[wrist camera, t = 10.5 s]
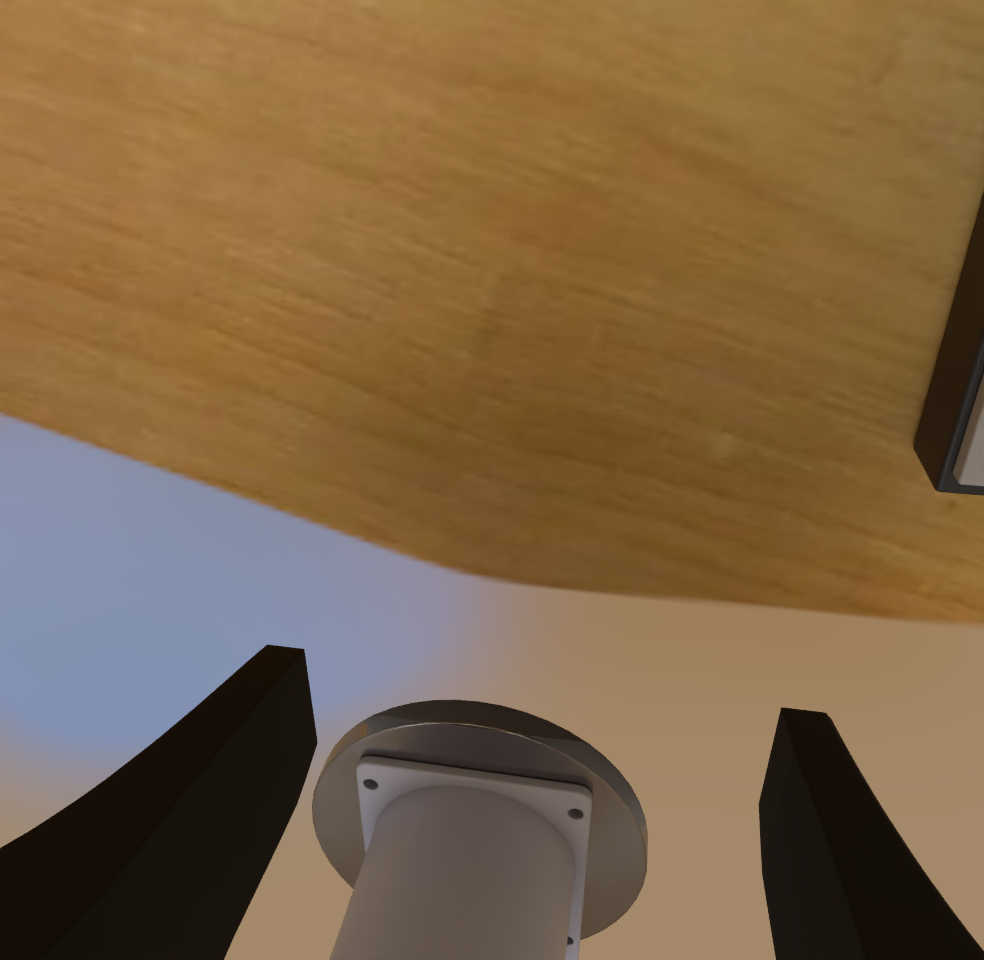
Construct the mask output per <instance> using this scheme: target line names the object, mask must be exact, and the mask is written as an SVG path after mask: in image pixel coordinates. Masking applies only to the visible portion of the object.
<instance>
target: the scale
mask: <svg viewBox="0 0 984 960" xmlns="http://www.w3.org/2000/svg"><path fill="white" fill-rule="evenodd" d="M914 450H915V452H916V454H917V456H918V458H919V460H920V462H921V464H922V466H923V468H924V469H925V471H926V473H927V475H928V477H929V479H930V481H931V483H932V485H933V487H934V488H935V490H936V491H939V492H949V493H961V494H972V495H984V197H983V201H982V204H981V208H980V211H979V215H978V219H977V222H976V226H975V229H974V233H973V236H972V240H971V243H970V247H969V251H968V254H967V258H966V261H965V265H964V268H963V272H962V276H961V279H960V283H959V286H958V290H957V293H956V297H955V301H954V304H953V308H952V311H951V315H950V318H949V322H948V326H947V329H946V333H945V336H944V340H943V343H942V347H941V351H940V354H939V358H938V361H937V365H936V368H935V372H934V376H933V379H932V383H931V386H930V390H929V393H928V397H927V400H926V404H925V408H924V411H923V415H922V418H921V422H920V425H919V429H918V433H917V436H916V440H915V443H914Z"/></svg>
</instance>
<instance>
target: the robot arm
mask: <svg viewBox="0 0 984 960" xmlns="http://www.w3.org/2000/svg"><path fill="white" fill-rule="evenodd" d="M316 746H317V736H316V729H315V722H314V715H313V708H312V701H311V694H310V687H309V680H308V672H307V665H306V658H305V653H304V649H299V648H291V647H282V646H274V645H266V646H265V647H264V648H263V649H262V650H260V651H259V652H258V653H257V654H256V655H255V656H253V657H252V658H251V659H250V660H249V661H248V662H246V663H245V664H244V665H243V666H242V667H241V668H240V669H238V670H237V671H236V672H235V673H234V674H233V675H232V676H231V677H229V678H228V679H227V680H226V681H225V682H224V683H223V684H222V685H220V686H219V687H218V688H217V689H216V690H215V691H214V692H212V693H211V694H210V695H209V696H208V697H207V698H206V699H204V700H203V701H202V702H201V703H200V704H199V705H197V707H195V708H194V709H193V710H192V711H190V712H189V713H188V714H187V715H186V716H185V717H183V718H182V719H181V720H180V721H179V722H177V723H176V724H175V725H174V726H173V727H171V728H170V729H169V730H168V731H167V732H165V733H164V734H163V735H162V736H161V737H159V738H158V739H157V740H156V741H155V742H153V743H152V744H151V745H150V746H148V747H147V748H146V749H144V750H143V751H142V752H141V753H139V754H138V755H137V756H135V757H134V758H133V759H131V760H130V761H129V762H128V763H126V764H125V765H124V766H123V767H121V768H120V769H119V770H117V771H116V772H115V773H114V774H112V775H111V776H110V777H108V778H107V779H106V780H104V781H103V782H101V783H100V784H99V785H97V786H96V787H95V788H93V789H92V790H90V791H89V792H88V793H86V794H85V795H84V796H82V797H80V798H79V799H78V800H76V801H75V802H73V803H72V804H70V805H69V806H67V807H66V808H64V809H63V810H61V811H60V812H58V813H57V814H55V815H54V816H52V817H51V818H49V819H47V820H46V821H44V822H43V823H41V824H40V825H38V826H37V827H35V828H33V829H32V830H30V831H29V832H27V833H25V834H24V835H22V836H20V837H18V838H17V839H15V840H13V841H12V842H10V843H8V844H7V845H5V846H3V847H1V848H0V960H224V958H225V956H226V953H227V951H228V949H229V947H230V944H231V942H232V940H233V937H234V935H235V933H236V931H237V929H238V927H239V925H240V923H241V921H242V919H243V917H244V914H245V913H246V910H247V908H248V906H249V904H250V902H251V900H252V898H253V896H254V893H255V892H256V890H257V888H258V885H259V883H260V881H261V879H262V877H263V875H264V873H265V871H266V869H267V867H268V865H269V862H270V860H271V858H272V856H273V854H274V852H275V850H276V848H277V846H278V844H279V841H280V839H281V837H282V835H283V833H284V831H285V828H286V827H287V824H288V822H289V820H290V818H291V816H292V814H293V812H294V809H295V807H296V805H297V803H298V800H299V797H300V794H301V791H302V788H303V785H304V783H305V780H306V777H307V774H308V770H309V767H310V764H311V761H312V758H313V755H314V752H315V748H316ZM356 775H357V784H358V793H359V802H360V810H361V819H362V828H363V837H364V845H365V854H366V855H365V858H364V861H363V863H362V866H361V869H360V872H359V875H358V878H357V881H356V884H355V887H354V890H353V893H352V896H351V899H350V901H349V904H348V907H347V910H346V913H345V916H344V919H343V922H342V925H341V928H340V931H339V934H338V937H337V939H336V942H335V945H334V948H333V951H332V954H331V957H330V960H577V959H578V957H579V946H580V935H581V924H582V912H583V901H584V889H585V878H586V867H587V855H588V844H589V833H590V821H591V810H592V799H593V797H592V793H591V792H590V790H589V789H587V788H586V787H584V786H581V785H577V784H569V783H562V782H555V781H548V780H541V779H534V778H526V777H519V776H512V775H505V774H498V773H491V772H483V771H476V770H469V769H462V768H455V767H448V766H440V765H433V764H426V763H419V762H412V761H405V760H397V759H390V758H383V757H376V756H365V757H363V758H361V759H360V760H359V763H358V765H357V769H356ZM371 779H372V780H371ZM576 809H579V810H576ZM759 819H760V839H761V840H760V841H761V860H762V875H763V881H764V888H765V894H766V901H767V907H768V913H769V919H770V925H771V932H772V938H773V944H774V950H775V956H776V960H984V951H983V950H982V948H981V947H980V946H979V944H978V943H977V942H976V941H975V940H974V938H973V937H972V936H971V934H970V933H969V932H968V931H967V929H966V928H965V927H964V925H963V924H962V923H961V921H960V920H959V919H958V917H957V916H956V915H955V913H954V912H953V911H952V909H951V908H950V906H949V905H948V904H947V902H946V901H945V900H944V898H943V897H942V895H941V894H940V893H939V891H938V890H937V889H936V887H935V886H934V885H933V883H932V882H931V881H930V879H929V878H928V876H927V875H926V873H925V872H924V871H923V869H922V867H921V866H920V865H919V863H918V862H917V860H916V859H915V857H914V856H913V854H912V853H911V851H910V850H909V848H908V847H907V845H906V844H905V842H904V841H903V839H902V837H901V836H900V834H899V833H898V832H897V830H896V828H895V827H894V825H893V824H892V822H891V821H890V819H889V818H888V816H887V815H886V813H885V811H884V810H883V808H882V807H881V805H880V803H879V802H878V800H877V799H876V797H875V795H874V794H873V792H872V790H871V789H870V787H869V785H868V783H867V782H866V780H865V779H864V777H863V775H862V773H861V772H860V770H859V768H858V767H857V765H856V763H855V761H854V760H853V758H852V756H851V755H850V752H849V751H848V749H847V747H846V745H845V743H844V742H843V740H842V738H841V736H840V734H839V733H838V731H837V729H836V727H835V725H834V723H833V721H832V720H831V718H830V717H829V716H828V715H827V714H826V713H823V712H815V711H807V710H798V709H791V708H781V711H780V715H779V719H778V724H777V728H776V732H775V737H774V741H773V745H772V750H771V754H770V758H769V763H768V767H767V771H766V775H765V780H764V784H763V788H762V792H761V797H760V801H759Z"/></svg>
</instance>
